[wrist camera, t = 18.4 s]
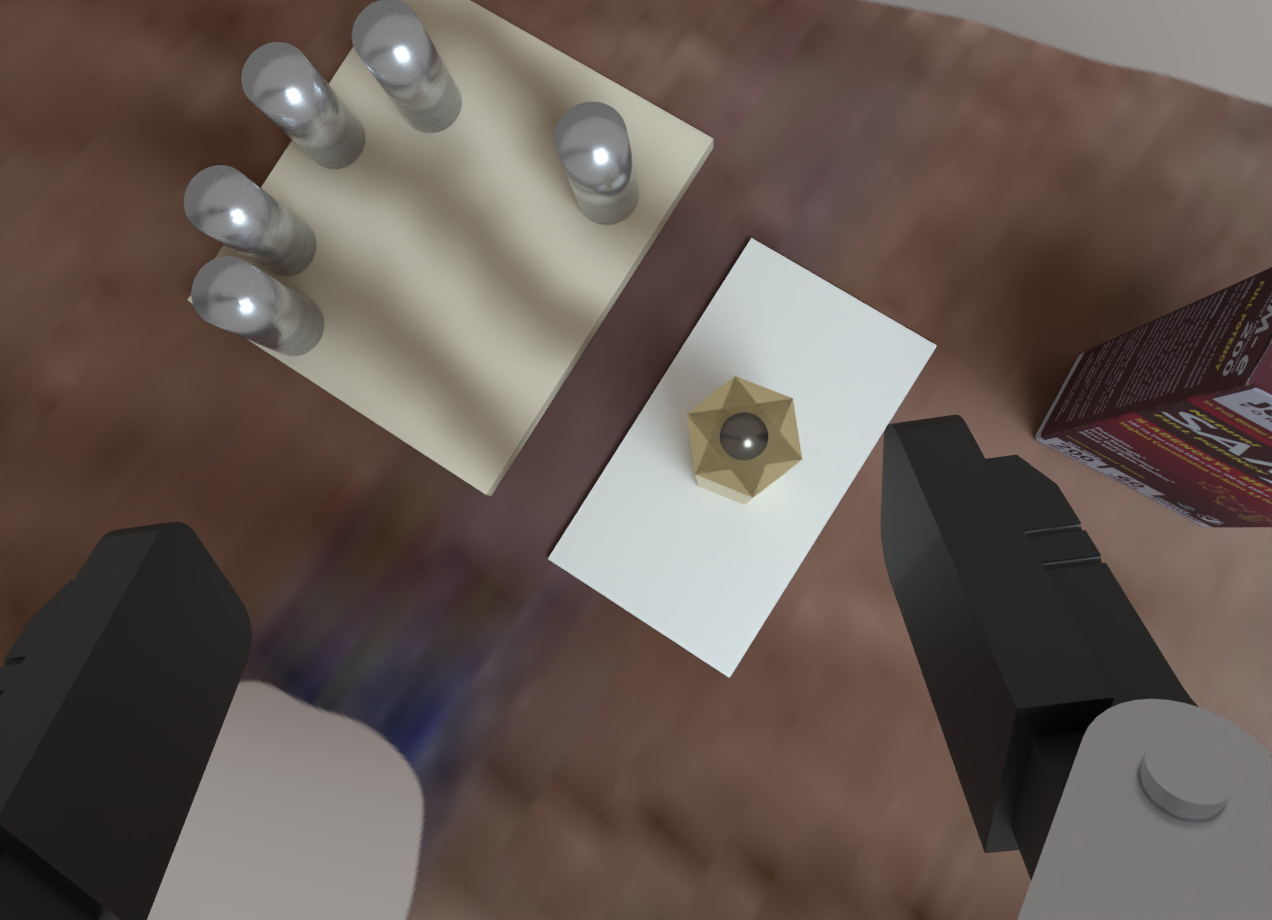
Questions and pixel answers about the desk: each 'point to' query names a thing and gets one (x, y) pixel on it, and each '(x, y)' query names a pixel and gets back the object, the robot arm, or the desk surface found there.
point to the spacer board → (470, 243)
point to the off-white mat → (786, 510)
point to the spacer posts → (335, 141)
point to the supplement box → (1181, 408)
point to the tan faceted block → (743, 439)
